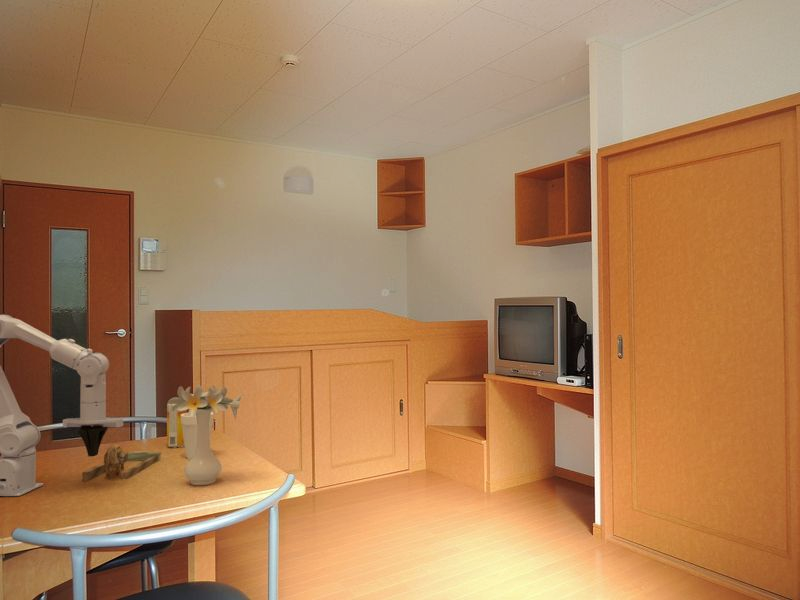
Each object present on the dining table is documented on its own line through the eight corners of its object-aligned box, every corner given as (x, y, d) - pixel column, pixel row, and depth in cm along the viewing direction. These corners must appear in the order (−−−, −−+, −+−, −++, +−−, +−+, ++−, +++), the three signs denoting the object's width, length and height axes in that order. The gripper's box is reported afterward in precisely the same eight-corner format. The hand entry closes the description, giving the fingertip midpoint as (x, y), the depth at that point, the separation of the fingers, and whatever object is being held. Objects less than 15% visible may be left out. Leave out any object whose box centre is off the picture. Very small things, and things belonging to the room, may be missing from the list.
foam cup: (197, 452, 185) (197, 410, 185) (219, 455, 181) (219, 412, 181) (173, 458, 177) (173, 415, 177) (196, 462, 173) (196, 417, 173)
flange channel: (123, 481, 153) (123, 471, 153) (82, 480, 153) (82, 471, 153) (160, 459, 176) (160, 451, 176) (125, 459, 176) (125, 451, 176)
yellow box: (189, 444, 196) (189, 399, 197) (183, 448, 190) (183, 401, 191) (170, 444, 196) (171, 399, 196) (164, 448, 190) (164, 402, 190)
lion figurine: (126, 479, 155) (126, 445, 155) (103, 482, 152) (104, 447, 153) (124, 466, 168) (124, 435, 168) (103, 468, 166) (103, 436, 166)
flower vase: (246, 483, 151) (246, 385, 151) (169, 493, 143) (169, 390, 143) (237, 471, 162) (237, 380, 163) (165, 479, 154) (166, 384, 155)
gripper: (129, 399, 153) (129, 451, 152) (74, 399, 153) (74, 451, 153) (115, 403, 145) (115, 458, 145) (57, 403, 146) (57, 458, 146)
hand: (93, 455), depth 148 cm, fingers closed
